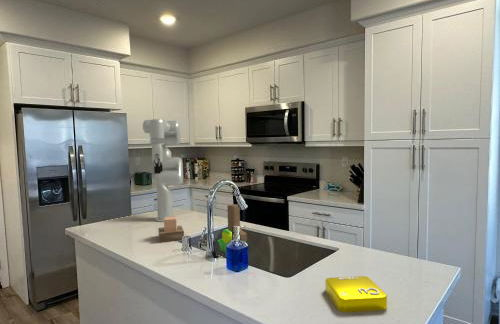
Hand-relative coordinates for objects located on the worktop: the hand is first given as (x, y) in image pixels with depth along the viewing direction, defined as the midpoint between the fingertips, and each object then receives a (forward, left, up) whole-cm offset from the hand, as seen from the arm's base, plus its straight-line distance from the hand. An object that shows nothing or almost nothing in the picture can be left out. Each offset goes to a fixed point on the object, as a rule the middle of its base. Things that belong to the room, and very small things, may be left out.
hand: (158, 172), depth 177 cm
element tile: (+92, +68, -34) cm, 120 cm away
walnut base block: (+14, +7, -34) cm, 37 cm away
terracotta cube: (+14, +7, -29) cm, 33 cm away
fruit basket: (+42, +35, -34) cm, 64 cm away
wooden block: (+27, +40, -33) cm, 59 cm away
